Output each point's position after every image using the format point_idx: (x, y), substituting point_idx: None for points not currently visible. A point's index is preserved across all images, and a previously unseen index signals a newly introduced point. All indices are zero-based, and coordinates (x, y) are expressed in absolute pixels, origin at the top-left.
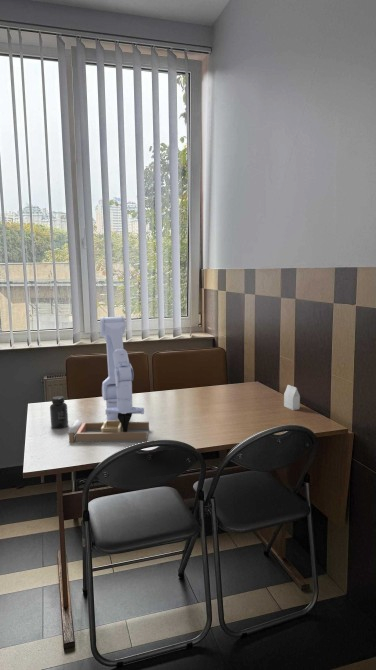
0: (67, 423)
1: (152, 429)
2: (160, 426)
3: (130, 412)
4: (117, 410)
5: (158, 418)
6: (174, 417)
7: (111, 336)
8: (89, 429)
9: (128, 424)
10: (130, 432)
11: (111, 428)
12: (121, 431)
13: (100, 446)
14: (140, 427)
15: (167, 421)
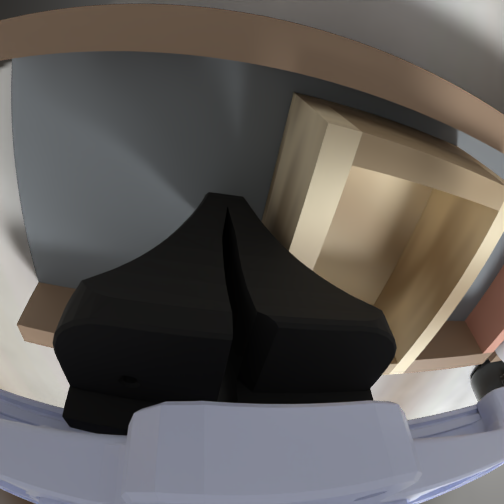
0: (485, 372)
1: (30, 293)
2: (8, 323)
3: (28, 425)
4: (437, 488)
5: (61, 400)
6: (5, 388)
7: None
8: (452, 323)
9: None
10: (147, 36)
11: (441, 157)
12: (267, 226)
13: (473, 11)
14: None
15: (8, 366)
